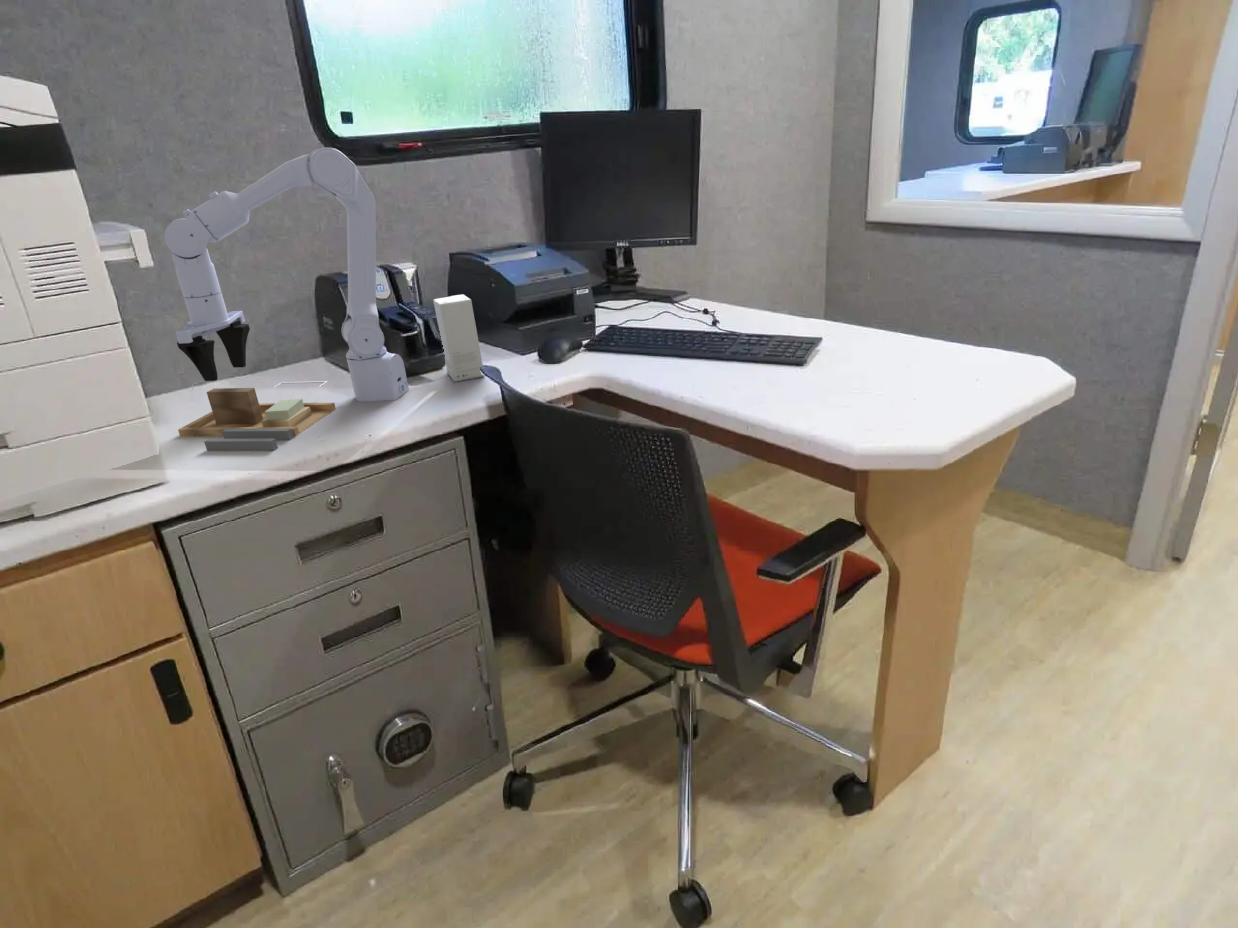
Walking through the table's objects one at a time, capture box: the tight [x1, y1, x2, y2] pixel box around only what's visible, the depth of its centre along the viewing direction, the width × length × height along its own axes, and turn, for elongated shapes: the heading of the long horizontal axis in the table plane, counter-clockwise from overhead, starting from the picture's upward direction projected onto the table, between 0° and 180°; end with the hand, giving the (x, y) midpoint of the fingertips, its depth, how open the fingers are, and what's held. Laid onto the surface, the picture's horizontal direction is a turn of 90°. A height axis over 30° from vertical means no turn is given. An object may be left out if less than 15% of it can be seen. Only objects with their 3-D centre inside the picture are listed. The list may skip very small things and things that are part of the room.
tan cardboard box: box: [206, 387, 263, 424], centre depth 133 cm, size 8×2×6 cm, turn 80°
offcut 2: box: [261, 407, 312, 427], centre depth 132 cm, size 5×7×2 cm
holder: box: [203, 428, 294, 452], centre depth 124 cm, size 12×6×3 cm, turn 80°
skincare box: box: [432, 293, 484, 382], centre depth 152 cm, size 8×7×16 cm
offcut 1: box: [265, 398, 304, 420], centre depth 132 cm, size 4×6×2 cm, turn 178°
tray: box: [177, 402, 337, 437], centre depth 134 cm, size 22×13×2 cm, turn 80°
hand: (225, 373), depth 131 cm, fingers open, 7 cm apart
